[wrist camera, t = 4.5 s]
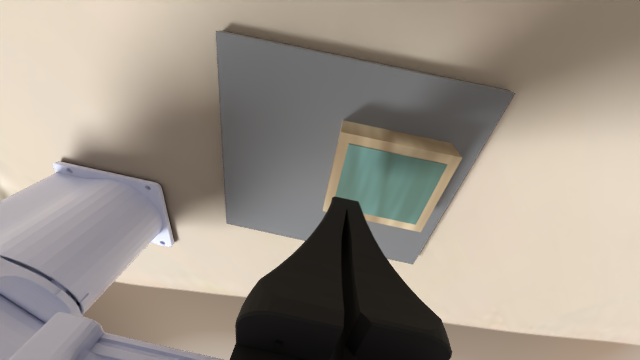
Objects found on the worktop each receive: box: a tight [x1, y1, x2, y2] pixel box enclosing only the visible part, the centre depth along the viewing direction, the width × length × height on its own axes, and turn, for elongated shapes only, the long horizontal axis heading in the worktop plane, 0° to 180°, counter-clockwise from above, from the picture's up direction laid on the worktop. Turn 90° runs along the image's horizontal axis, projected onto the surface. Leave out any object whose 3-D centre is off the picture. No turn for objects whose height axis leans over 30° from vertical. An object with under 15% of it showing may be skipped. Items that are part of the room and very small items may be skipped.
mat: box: [216, 31, 515, 264], centre depth 18 cm, size 17×15×1 cm
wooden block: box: [323, 120, 462, 232], centre depth 16 cm, size 2×6×7 cm
